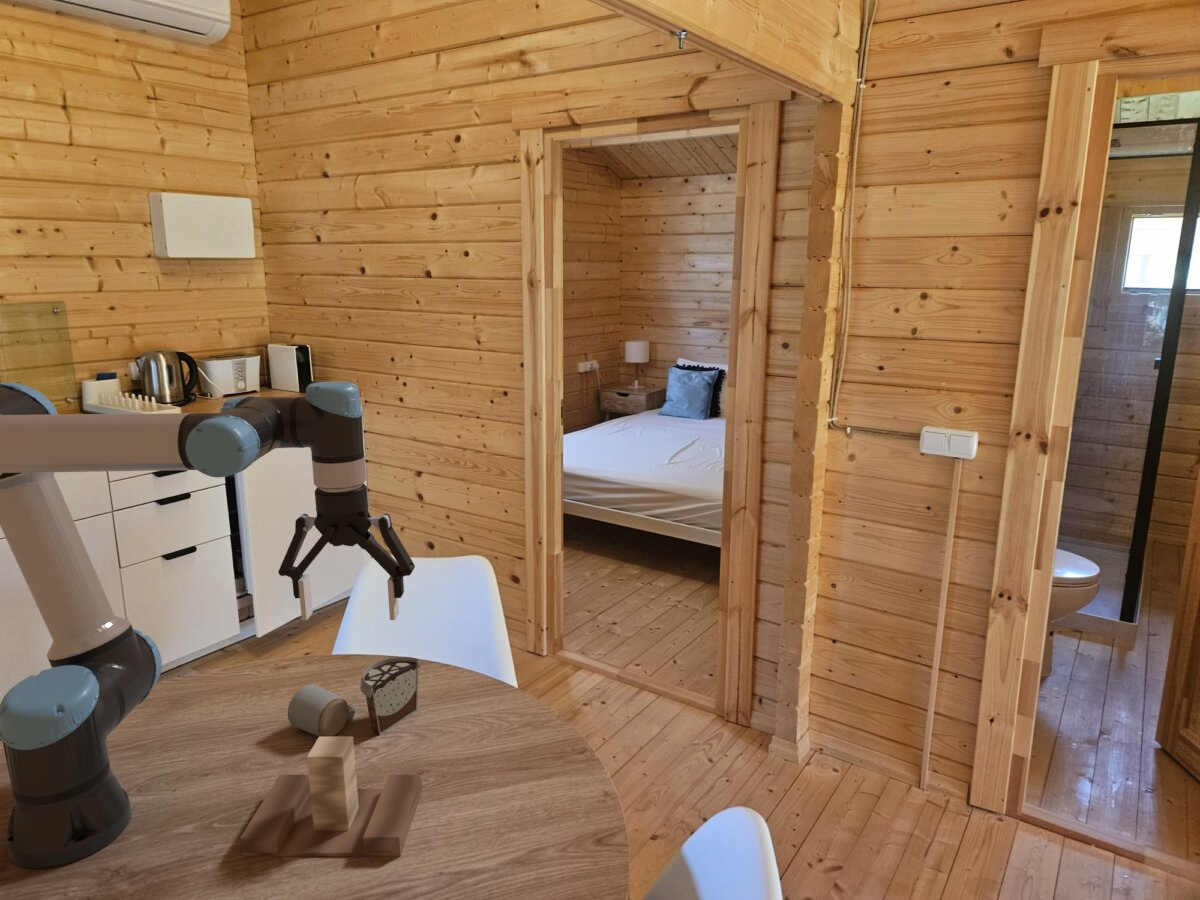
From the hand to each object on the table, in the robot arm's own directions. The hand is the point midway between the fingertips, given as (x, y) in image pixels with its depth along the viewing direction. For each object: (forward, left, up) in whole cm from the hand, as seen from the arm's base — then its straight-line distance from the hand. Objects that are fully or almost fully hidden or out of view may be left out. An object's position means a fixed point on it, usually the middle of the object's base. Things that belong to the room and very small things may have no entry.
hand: (350, 616), depth 126 cm
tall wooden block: (0, -13, -26) cm, 29 cm away
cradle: (0, -13, -27) cm, 30 cm away
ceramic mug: (-10, +12, -27) cm, 31 cm away
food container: (0, +15, -27) cm, 31 cm away
